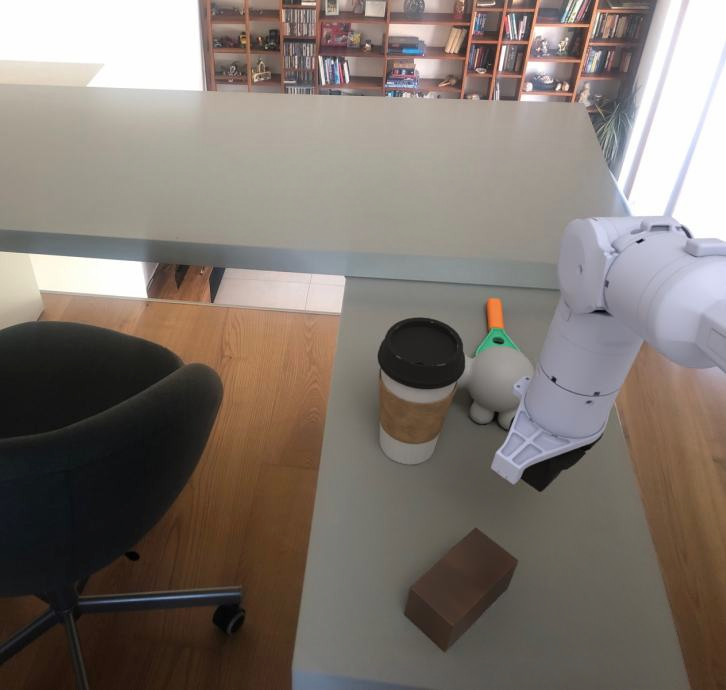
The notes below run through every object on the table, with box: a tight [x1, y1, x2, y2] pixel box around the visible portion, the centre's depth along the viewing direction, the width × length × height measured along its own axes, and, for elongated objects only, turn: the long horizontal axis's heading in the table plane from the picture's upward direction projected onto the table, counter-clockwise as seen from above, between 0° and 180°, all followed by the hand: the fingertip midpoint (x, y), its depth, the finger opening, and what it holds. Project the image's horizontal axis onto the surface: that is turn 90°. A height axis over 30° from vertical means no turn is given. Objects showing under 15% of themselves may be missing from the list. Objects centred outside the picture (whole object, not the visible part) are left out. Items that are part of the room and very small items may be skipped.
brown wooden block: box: [403, 527, 519, 653], centre depth 60 cm, size 4×4×9 cm
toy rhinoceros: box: [456, 346, 535, 431], centre depth 77 cm, size 7×12×8 cm, turn 68°
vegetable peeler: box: [473, 297, 524, 358], centre depth 87 cm, size 15×6×2 cm, turn 170°
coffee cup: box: [376, 316, 466, 466], centre depth 71 cm, size 8×8×15 cm
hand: (534, 480), depth 58 cm, fingers closed
